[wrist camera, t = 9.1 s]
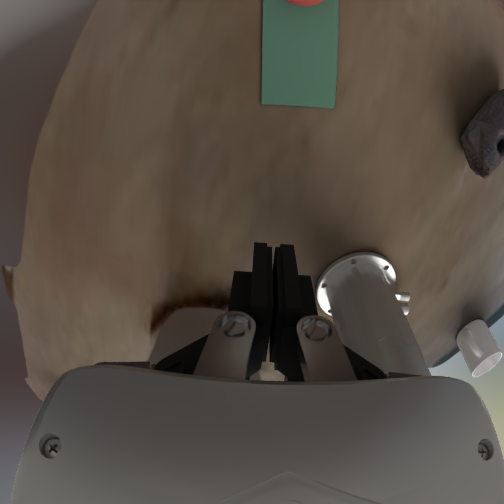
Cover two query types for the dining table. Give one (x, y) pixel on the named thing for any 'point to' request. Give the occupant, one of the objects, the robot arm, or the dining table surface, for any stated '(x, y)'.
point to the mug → (478, 347)
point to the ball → (304, 2)
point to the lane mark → (299, 53)
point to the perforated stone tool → (486, 136)
